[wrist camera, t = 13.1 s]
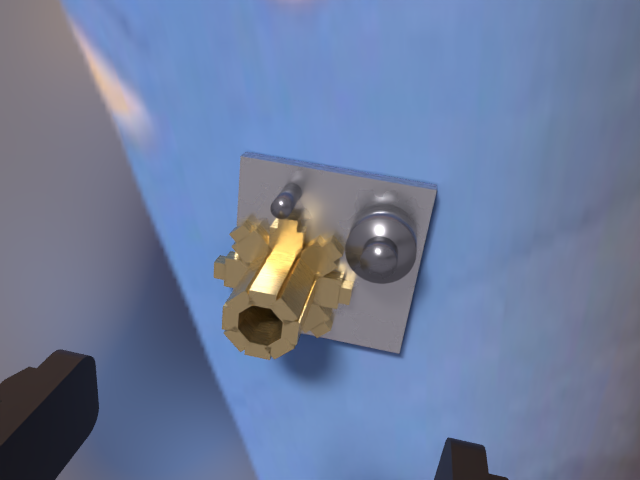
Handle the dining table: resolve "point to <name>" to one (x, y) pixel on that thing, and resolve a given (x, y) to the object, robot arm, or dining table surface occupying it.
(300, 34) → the dining table surface
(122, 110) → the dining table surface
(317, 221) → the plate
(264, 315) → the planet gear
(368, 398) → the dining table surface
